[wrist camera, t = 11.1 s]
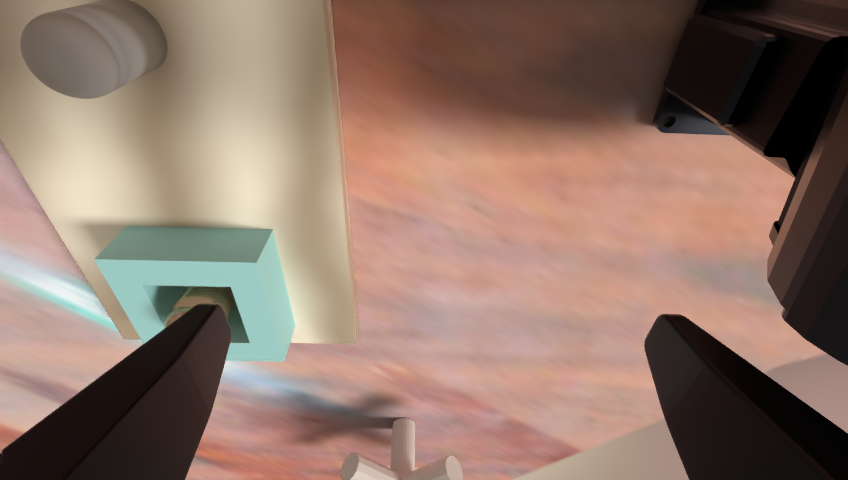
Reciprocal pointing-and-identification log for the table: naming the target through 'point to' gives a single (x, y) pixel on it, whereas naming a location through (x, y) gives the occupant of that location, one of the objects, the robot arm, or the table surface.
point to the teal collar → (203, 282)
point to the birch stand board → (186, 133)
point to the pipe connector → (400, 461)
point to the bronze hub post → (201, 300)
